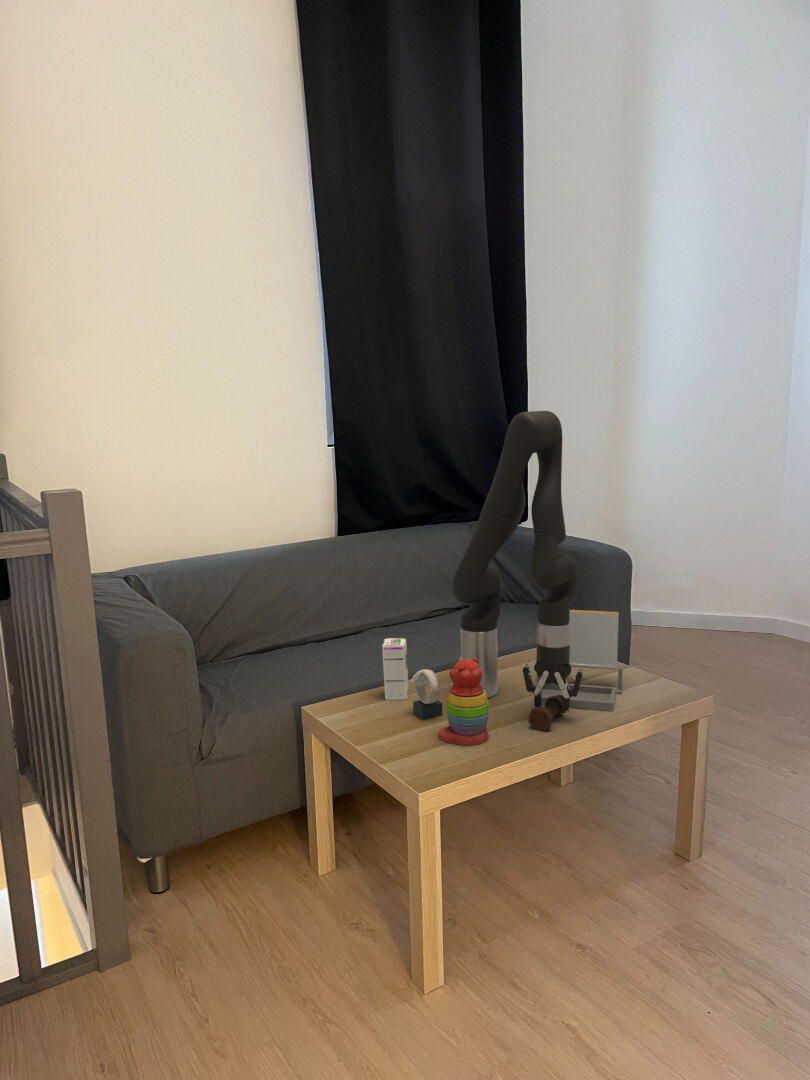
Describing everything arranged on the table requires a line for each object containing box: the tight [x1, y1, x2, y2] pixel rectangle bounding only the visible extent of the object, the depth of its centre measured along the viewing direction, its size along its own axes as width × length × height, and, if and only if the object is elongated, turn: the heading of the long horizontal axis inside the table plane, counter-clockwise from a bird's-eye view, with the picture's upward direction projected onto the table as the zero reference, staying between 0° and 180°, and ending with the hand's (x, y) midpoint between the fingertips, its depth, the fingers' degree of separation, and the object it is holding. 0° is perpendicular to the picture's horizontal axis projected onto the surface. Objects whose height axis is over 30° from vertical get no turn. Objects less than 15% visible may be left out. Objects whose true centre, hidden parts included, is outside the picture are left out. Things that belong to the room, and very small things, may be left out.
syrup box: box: [381, 637, 410, 701], centre depth 209 cm, size 6×6×14 cm
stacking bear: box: [437, 658, 490, 746], centre depth 183 cm, size 11×10×18 cm
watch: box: [410, 668, 443, 721], centre depth 197 cm, size 6×8×11 cm
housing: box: [535, 667, 623, 712], centre depth 205 cm, size 21×15×6 cm
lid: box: [569, 609, 620, 671], centre depth 212 cm, size 19×14×1 cm
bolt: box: [527, 695, 564, 732], centre depth 193 cm, size 6×5×15 cm
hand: (551, 710), depth 193 cm, fingers closed on bolt, 5 cm apart
